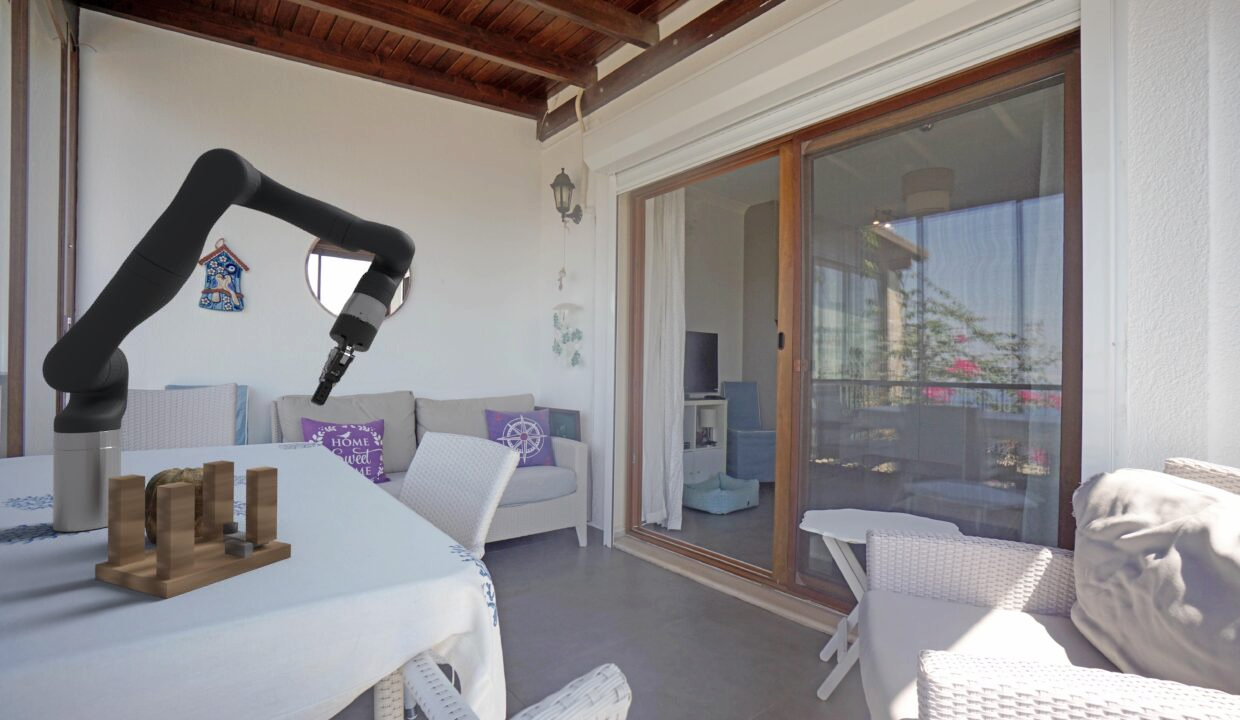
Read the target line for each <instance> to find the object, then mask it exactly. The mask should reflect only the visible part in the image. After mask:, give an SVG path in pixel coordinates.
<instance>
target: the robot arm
mask: <svg viewBox="0 0 1240 720" xmlns="http://www.w3.org/2000/svg"><path fill="white" fill-rule="evenodd" d="M232 205H235V206H238V207H243V208H247V209H250V210H253V211H254V210H255V211H258V212H261V213H264V214H267V215H269V216H272V217H274V218H277V219H279V220H282V221H284V222H285V223H288V224H290V225H293V226H294V227H296V228H299V230H302V231H305V232H306V233H308V234H310V235H312V236H313V237H317V239H320V240H322V241H325V242H327V243H329V244H331V245H334V246H335V247H339V248H340V249H343V250H346V251H348V252H351V253H359V252H360V251H364V252H368V253H371V254H374V257H373V258H372V261H371V263H370V265H369V267H368V269H367V270H366V271H365V272H364V273H363V274H362V275H361V277H360V279H359V280H358V282H357V284H356V285H355V288H354V290H353V291H352V293H351V294H350V296H349V298H348V299H347V300H346V302H345V303H344V304H343V307H342V309H341V311H340V312H339V314H338V316H337V318H336V320H335V321H334V324H333V325H332V327H331V328H330V331H329V337H330V338H331V339H332V340H333V342H336V343H337V346H334V347H333V348H331V349H330V350H329V353H328V355H327V359H326V362H325V363H324V365H323V367H322V369H321V370H322V371H321V374H320V375H319V377H318V385H317V387H316V389H315V391H314V392H313V395H312V396H311V399H310V402H311V403H312V404H314V405H316V406H319V407H323V405H325V404H326V402H327V400H328V398H329V395H330V394H331V392H332V390H333V388H335V387H336V386H337V384H339V383H340V381H341V378H342V377H344V376H345V374H346V372H347V370H348V368H349V367H350V364H352V363H353V361H354V360H355V358H356V355H354V352H359V353H366V352H368V351H369V350H370V348H371V346H372V344H373V342H374V340H375V338H376V336H377V334H378V332H379V330H380V329H381V326H382V324H383V322H384V319H385V316H386V314H387V311H388V309H389V307H390V305H391V303H392V301H393V299H394V297H395V295H396V292H397V289H398V287H399V286H400V285H401V283H402V281H403V279H404V278H405V277H406V275H407V273H408V271H409V269H410V267H411V265H412V262H413V259H414V256H415V253H416V244H415V242H414V240H413V239H412V237H411V236H410V235H409V234H408V233H406V232H405V231H403V230H401V229H399V228H397V227H394V226H392V225H391V226H390V225H387V224H383V223H379V222H376V221H373V220H365V219H363V218H361V217H360V216H357V215H355V214H353V213H351V212H348V211H347V210H344V209H342V208H340V207H338V206H335V205H333V204H330V203H328V202H326V201H323V200H320V199H318V198H314V197H311V196H309V195H306V194H304V193H301V192H299V191H296V190H293V189H291V188H289V187H287V186H285V185H283V184H282V183H279V182H278V181H276V180H274V179H273V178H271V177H269V176H268V175H267V174H265V173H263V172H262V171H260V170H259V169H257V168H256V167H254V165H253V164H252V163H251V162H250V161H249V160H247V159H246V158H245V157H244V156H242V155H240V154H239V153H237V152H236V151H234V150H231V149H228V148H225V147H224V148H221V147H217V148H213V149H209V150H207V151H205V152H204V153H202V154H201V155H199V156H198V158H197V159H196V160H195V162H194V163H193V165H192V167H191V168H190V170H189V172H188V173H187V176H186V177H185V178H184V181H183V182H182V183H181V185H180V187H179V188H178V191H177V193H176V194H175V195H174V198H173V199H172V200H171V202H170V203H169V205H168V206H167V207H166V209H165V210H164V211H163V212H162V213H161V215H160V216H158V218H157V219H156V221H155V222H154V223H153V224H152V226H151V227H150V228H149V229H148V230H147V232H146V233H145V235H144V236H143V237H142V239H140V240H139V242H138V243H137V244H136V245H135V247H134V248H133V249H132V250H131V252H130V253H129V254H128V256H127V257H126V259H124V261H123V262H122V264H121V265H120V267H119V268H118V270H117V271H116V273H115V274H114V275H113V276H112V277H111V279H110V280H109V282H108V283H107V284H106V286H105V287H104V288H103V289H102V291H101V292H100V293H99V294H98V296H97V297H96V298H95V300H94V301H93V302H92V304H91V305H90V306H89V307H88V308H87V310H86V312H85V313H84V314H83V315H82V316H81V317H80V318H79V319H78V320H77V321H76V322H75V323H74V324H73V326H72V327H70V328H69V330H67V332H65V333H64V334H63V335H62V336H61V338H60V339H59V340H57V342H56V343H55V344H54V345H53V346H52V347H51V348H50V349H49V351H48V353H46V355H45V358H44V360H43V363H42V368H41V369H42V371H41V372H42V377H43V379H44V381H45V382H46V384H47V385H48V386H49V387H50V388H51V389H52V390H55V391H56V392H57V391H58V392H61V393H65V394H69V398H68V402H67V405H66V406H65V407H64V408H63V409H62V410H61V411H60V412H58V413H57V414H56V415H55V417H54V418H53V445H52V446H53V470H52V471H53V478H52V479H53V481H52V487H53V488H52V503H53V504H52V530H54V531H56V532H66V533H67V532H82V531H90V530H91V531H92V530H97V529H101V528H105V527H108V478H112V477H118V476H122V420H123V417H124V416H125V413H126V411H127V408H128V395H129V379H130V378H129V375H130V373H129V371H130V369H129V362H128V359H127V356H126V354H125V353H124V351H123V350H122V349H121V348H120V345H121V344H122V343H123V341H124V340H125V339H126V337H127V336H128V335H129V334H130V333H132V331H134V329H136V328H137V327H139V325H141V324H142V323H143V322H145V321H146V320H148V319H149V318H150V317H152V316H154V315H155V314H156V313H157V312H159V311H161V309H163V308H164V307H165V306H167V305H168V304H169V303H170V302H171V301H172V300H173V299H174V298H175V297H176V296H177V295H178V293H179V292H180V291H181V290H182V288H183V286H184V285H186V283H187V281H188V280H189V279H190V277H191V275H193V272H194V271H195V270H196V268H197V265H198V264H199V262H200V258H201V256H202V253H203V250H204V247H205V244H206V241H207V239H208V236H209V235H210V233H211V231H212V229H213V228H214V226H215V225H216V223H217V222H218V221H219V220H220V219H221V217H222V216H223V215H224V214H225V212H227V210H228V209H230V208H231V206H232Z"/></svg>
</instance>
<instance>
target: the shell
mask: <svg viewBox="0 0 1240 720" xmlns="http://www.w3.org/2000/svg"><path fill="white" fill-rule="evenodd" d="M177 482H185V483H192V484H195V523H194V538H198V537H202V536H203V467H198V466H197V467H195V468H191V467H185V468H183V469H181V468H179V467H175V468H170V469H166V470H165V469H164V470H162V471H159V472H158V473H156V474H154V475H153V476H152V477H151V478H150V479H149V480H148V482H147V484H146V485H145V535H146V537H147V539H148V540H149V541H150V543H152V544H156V545H157V486H160V485H166V484H171V483H177Z"/></svg>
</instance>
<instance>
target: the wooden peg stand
mask: <svg viewBox="0 0 1240 720" xmlns="http://www.w3.org/2000/svg"><path fill="white" fill-rule="evenodd" d="M202 466H203V467H202V468H203V536H202V537H198V538H194V523H195V484H192V483H185V482H177V483H171V484H166V485H160V486H157V544H156V547H155V548H152V549H148V550H145V547H146V544H145V543H146V531H145V489H146V476H145V475H139V474H134V473H133V474H132V473H131V474H127V475H126V474H125V475H121V476H118V477H112V478H108V526H107V561H103V562H99V563H96V564H94V565H95V567H94V572H95V573H94V579H95V580H98V579H99V580H98V581H102V582H105V583H110V584H113V585H117V586H120V587H124V588H127V589H131V590H134V591H138V592H141V593H145V594H148V595H152V596H155V597H160V598H163V599H166V600H167V599H170V598H173V597H176V596H179V595H182V594H186V593H187V592H191V591H194V590H196V589H199V588H202V587H206V586H208V585H212V584H214V583H218V582H220V581H223V580H226V579H229V578H232V577H236V576H238V575H241V573H242V574H244V573H247V571H248V572H251V571H254V570H257V569H260V568H262V567H265V566H268V565H271V564H274V563H277V562H280V561H283V560H286V559H288V558H291V557H292V544H291V543H286V542H282V541H277V540H273V541H269V544H265V545H262V546H258V547H255V548H253V543H249V542H244V541H239V540H234V539H232V540H229V541H226V540H223V524H225V523H229V522H235V521H234V519H235V517H234V516H235V515H234V514H235V511H234V509H235V507H234V505H235V504H234V503H235V495H234V494H235V462H234V461H229V460H221V459H220V460H215V461H211V462H210V461H209V462H204V463H203V465H202ZM253 569H254V570H253Z"/></svg>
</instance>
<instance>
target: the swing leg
mask: <svg viewBox="0 0 1240 720" xmlns="http://www.w3.org/2000/svg"><path fill="white" fill-rule="evenodd" d="M278 469H279V468H278V467H273V466H272V467H271V466H267V465H266V466H265V465H264V466H260V467H259V466H258V467H252V468H246V469H245V473H246V474H245V475H246V476H245V531H242V530H239V522H238V521H234V522H229V523H225V524H223V540H226V541H229V540H232V539H234V540H239V541H244V542H249V543H253V548H255V547H258V546H262V545H265V544H269V541H277V540H278V539H277V538H278V475H279V473H278V471H279V470H278Z"/></svg>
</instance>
